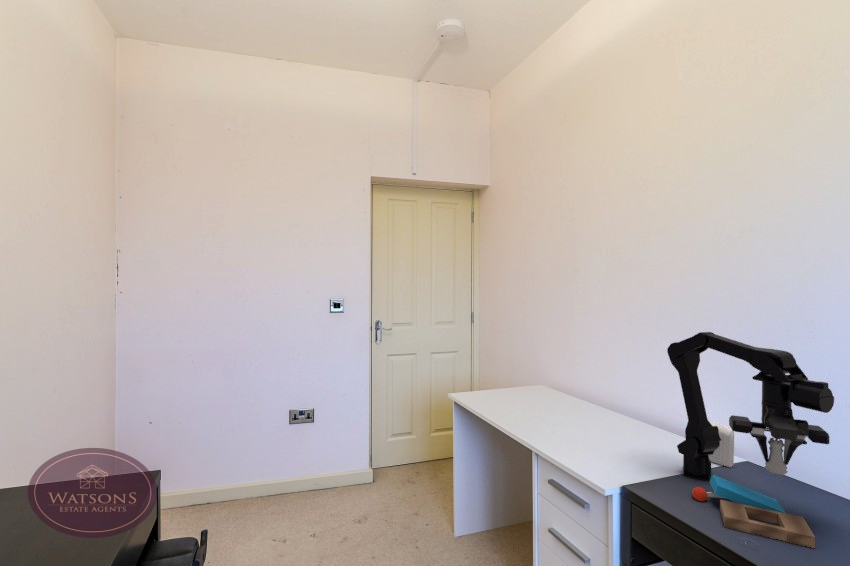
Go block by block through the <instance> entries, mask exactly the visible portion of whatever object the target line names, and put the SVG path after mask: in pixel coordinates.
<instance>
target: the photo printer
mask: <svg viewBox="0 0 850 566" xmlns="http://www.w3.org/2000/svg"><path fill="white" fill-rule="evenodd" d="M709 422H710V424H711V425H712V426H717V427H718V430H719V436H720V438H721V441H720V446H719V447H718V448H717V449H716V450H715V451H714V453H713V454H712V455H708V456H709V459H710V461H711V463H715V464H718V465H721V466H723V465H724V466H723V467H727V468H733V467H734V464H735V463H734V459H735V456H734V455H735V431H733V430H732V429H731V427H729V426H726V425H724V424H721V423H718V422H714V421H709ZM732 466H733V467H732Z"/></svg>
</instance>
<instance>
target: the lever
mask: <svg viewBox="0 0 850 566" xmlns="http://www.w3.org/2000/svg"><path fill="white" fill-rule="evenodd" d="M709 484H710V486H711V488H712V490H713V492H712V491H706V490H705V489H704V488H703V487H700V486H697V487H694V488H693V489H692V490H691V491H692V496H693V498H694V499H695V500H696V501H698V502H705V501H707V500H708V498H719V499H725V500H727V501H731V502H736V503H740V504H745V505H750V506H754V507H759V508H764V509H768V510H773V511H778V512H782V513H787V512H786V511H785V509H784V508H783V507H782V505H781V504H780V502H778V500H777V499H775V498H772V497H770V496H768V495H765V494H763V493H760V492H757V491H755V490H753V489H751V488H748V487H745V486H743V485H740V484H738V483H736V482H733V481H730V480H728V479H725V478H723V477H721V476H718V475H716V474H712V473H711V477H710V480H709Z"/></svg>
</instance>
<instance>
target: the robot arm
mask: <svg viewBox="0 0 850 566" xmlns="http://www.w3.org/2000/svg"><path fill="white" fill-rule="evenodd" d="M708 349H711V350H714V351H716V352H719V353H722V354H725V355H728V356H731V357H733V358H736V359H739V360H742V361H744V362H746V363H748V364H749V365H750V366H751V367H752V368H754V369H756V370H758V371H759V372H758V373H757V374H755V375H754V376H752V380H754V381H759V382H761V417H760V420H761V422H759V421H751V419H750V418H749V417H748V416H741V415H730V417H729V418H728V425H729V428H730V429H732V430H733V431H734V433H735V432H736V433H743V434H749V435H750V436H751V437H753V438H755V439H756V441H757V444H758V445H759V448H760V451H761V454H762V456H763V459H764V461H765V463H766V462H768V459H769V450H768V444H767V443H768V441H767V440H768V437H767V436H766V434H765V432H770V435H771V438H774V439H775V438H776V439H778V440H779V439H781V440H784V441H783V444H784V445H785V446H783V461H784V463H785V465H786V466H788V465H789V463H790V461H791V459H792V457H793V455H794V453H795V452H796V450H797V449H798V448H799V447H800V446H802V445H807V444H808V441H806V438H808V439H809V440H810V441H811V442H812V443H813V444H814V443H816V444H822V445H830V434H829V433H828V432H827V431H826V430H825V429H823V428H822V427H821V426H820V425H815V424H814V425H812V424H809V422H808V420H804V419H798V418H797V419H796V418H794V415H793V412H794V411H793V409H792V404H793V405H794V406H796V407H798V408H799V407H800V408H804V409H807V410H811V411H817V412H821V413H824V414H825V413H826V414H827V413H830V412H831V410H832V409H833V407H834V404H835V396H834V395H833V391H832V390H831V389H830V388H829V382H824V381H816V380H810V379H809V377H807V376H806V374H805V373H804V371H803V370H802V369H801V368H800V366H799V365H798V364H797V361H796V358H795V357H794V355H793V354H792V353H791V352H789V351H785V350H779V349H774V348H766V347H765V348H764V347H757V346H753V345H749V344H746V343H743V342H740V341H737V340H734V339H731V338H727V337H725V336H721V335H718V334H715V332H712V331H704V332H703V331H702V332H698V333H695V334H694V335H693V336H690V337H687V338H686V339H683V340H681V341H678V342H677V341H676V342H672V343H670V345H669V346H668V347H667V351H666V352H667V355H668V359H669V360H670V361H669V362H670V363H671V365H672V366H673V367H674V369H675V370H676V371H677V373H678V377H679V381H680V382H679V383H680V387H681V391H682V397H683V400H684V405H685V411H686V415H687V424H686V426H685V430H684V433H685V434H684V435H685V436H684V437H685V439H684V440H683V441H682V442H680V443H679V444H677V446H676V447H677V450H678V451H677V452H678V453H679V454H681V455H683V456H682V459H683V461H682V474H683V475H682V476H684V477H689V478H693V479H700V480H704V481H707V482H708V481H709V482H710V479H711V477H712V462H711V461H710V459H709V456H708V455H712V454H713V453H714V451H715V450H716V449H717V448H718V447H719V446H720V441H721V438H720V436H719V430H718V427H717V426H712V425H711V424H710V422H711V421H709V419H708V416H707V412H706V411H707V410H706V406H705V401H704V397H703V392H702V388H701V384H700V379H699V374H698V369H699V365H700V362H701V354H702V353H704V352H705V351H707V350H708Z"/></svg>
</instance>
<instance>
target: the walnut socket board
mask: <svg viewBox="0 0 850 566" xmlns="http://www.w3.org/2000/svg"><path fill="white" fill-rule="evenodd" d="M719 511H720V514H721V518H722V523H723V526H724V528H727V529H729V530H730V529H732V530H736V531H740V532H744V533H747V534H752V535H755V534H757V535H756V536H760V535H762V536H761V537H764V536H765V538H768V537H769V539H773V540H776V539H778V540H777V541H780V540H783V541H782V542H785V541H786V542H785V543H789V542H790V544H793V543H794V545H797V544H798V546H801V545H802V547H805V546H807V548H810V547H811V549H814V548H815V549H816V536H815V535H814V533H813V531H812V529H811V528H810V527H809V524H808V523H807V522H806V520H805V518H804V517H803V516H800V515H797V514H792V513H791V514H790V513H787V512H786V513H782V512H778V511H773V510H768V509H764V508H759V507H754V506H750V505H745V504H740V503H736V502H733V501H731V500H727V499H723V498H719ZM757 520H758V521H757ZM762 521H763V522H762ZM765 522H767V523H765ZM774 524H776V525H774Z"/></svg>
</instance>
